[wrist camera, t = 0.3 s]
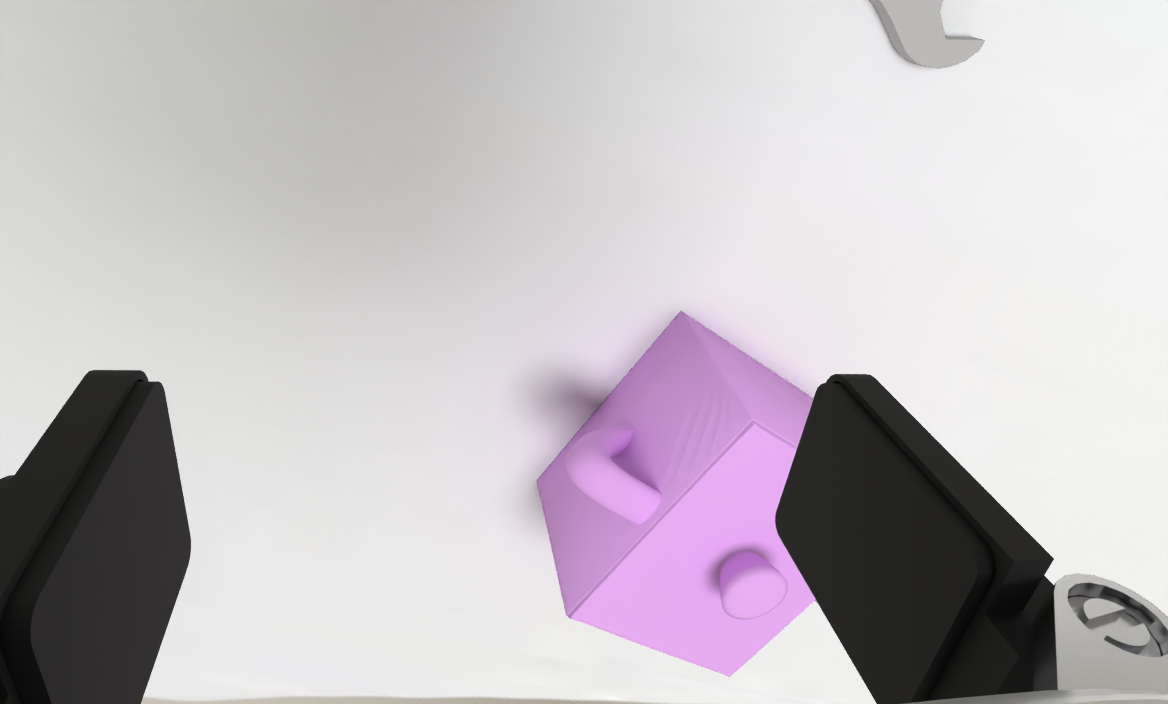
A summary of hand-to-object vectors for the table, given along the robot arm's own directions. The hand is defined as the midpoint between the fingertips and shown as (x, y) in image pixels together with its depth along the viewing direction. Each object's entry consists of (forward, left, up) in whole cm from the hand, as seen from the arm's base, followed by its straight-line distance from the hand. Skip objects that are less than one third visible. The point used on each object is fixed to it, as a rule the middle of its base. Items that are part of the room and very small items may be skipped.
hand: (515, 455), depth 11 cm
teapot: (+3, +29, -30) cm, 42 cm away
